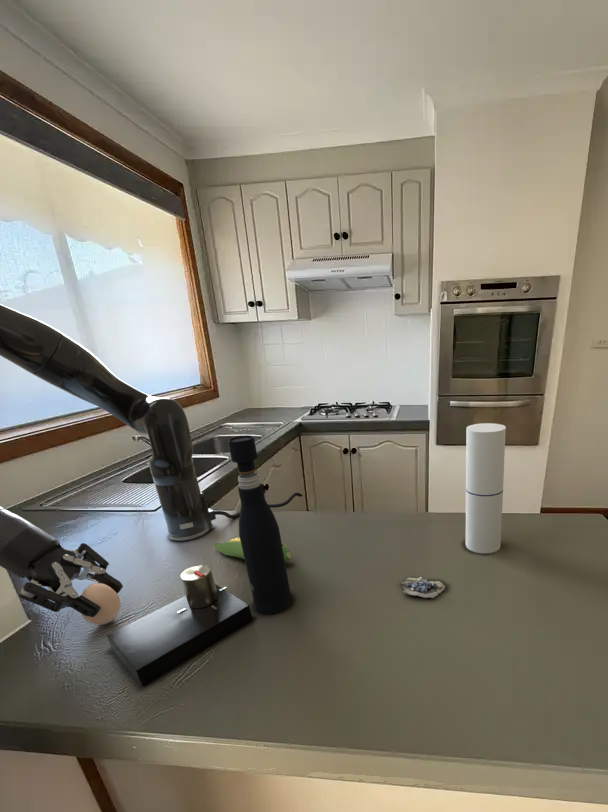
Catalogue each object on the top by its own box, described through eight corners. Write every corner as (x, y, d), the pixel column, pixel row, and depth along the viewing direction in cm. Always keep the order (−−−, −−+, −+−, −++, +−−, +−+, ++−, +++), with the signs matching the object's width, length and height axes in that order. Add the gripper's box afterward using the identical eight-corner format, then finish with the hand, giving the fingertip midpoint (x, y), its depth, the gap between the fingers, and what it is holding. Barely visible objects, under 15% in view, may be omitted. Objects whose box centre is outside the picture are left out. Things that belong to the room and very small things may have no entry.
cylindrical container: (462, 551, 87) (463, 431, 77) (468, 535, 93) (470, 422, 83) (498, 555, 84) (503, 432, 75) (502, 539, 90) (507, 423, 81)
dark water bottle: (298, 594, 77) (270, 433, 65) (279, 616, 71) (245, 444, 60) (267, 590, 79) (235, 433, 68) (247, 611, 73) (209, 443, 62)
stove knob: (183, 602, 72) (174, 573, 70) (208, 588, 76) (200, 560, 73) (197, 611, 69) (188, 582, 67) (223, 597, 73) (215, 568, 70)
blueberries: (398, 580, 79) (397, 571, 78) (440, 575, 79) (440, 567, 78) (404, 602, 72) (403, 593, 72) (449, 596, 73) (449, 587, 72)
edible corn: (283, 573, 84) (279, 553, 82) (210, 557, 93) (205, 538, 91) (298, 560, 88) (295, 541, 87) (227, 546, 97) (222, 528, 95)
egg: (92, 616, 75) (77, 580, 72) (127, 607, 77) (114, 572, 74) (83, 636, 70) (67, 598, 67) (122, 626, 72) (108, 589, 69)
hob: (217, 593, 79) (213, 578, 78) (255, 618, 71) (251, 602, 70) (111, 648, 67) (105, 633, 66) (142, 687, 59) (135, 669, 58)
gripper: (-16, 550, 60) (91, 614, 64) (56, 509, 74) (142, 564, 78) (-35, 583, 63) (70, 643, 67) (39, 537, 76) (123, 590, 80)
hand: (108, 600), depth 72 cm, fingers closed on egg, 5 cm apart
